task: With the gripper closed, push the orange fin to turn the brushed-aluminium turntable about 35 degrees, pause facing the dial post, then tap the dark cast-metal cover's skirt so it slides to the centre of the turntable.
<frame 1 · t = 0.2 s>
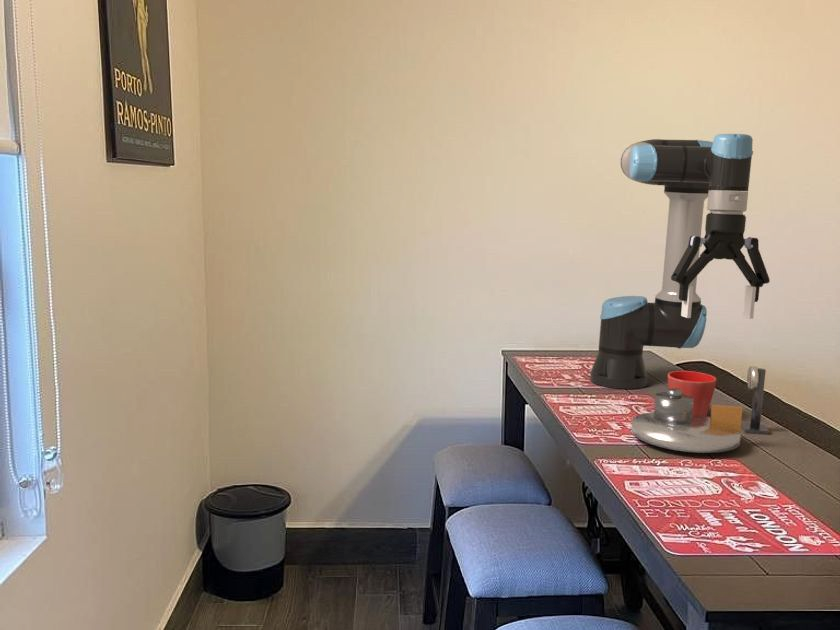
hand: (717, 317, 171), 27 cm above the table, fingers open, 13 cm apart
flower pot: (688, 417, 196), on the table
dial post: (754, 430, 186), on the table
turntable: (686, 419, 176), point 5 cm above the table, hinge at 0.0°, touching cover
cover: (672, 419, 182), point 3 cm above the table, touching turntable
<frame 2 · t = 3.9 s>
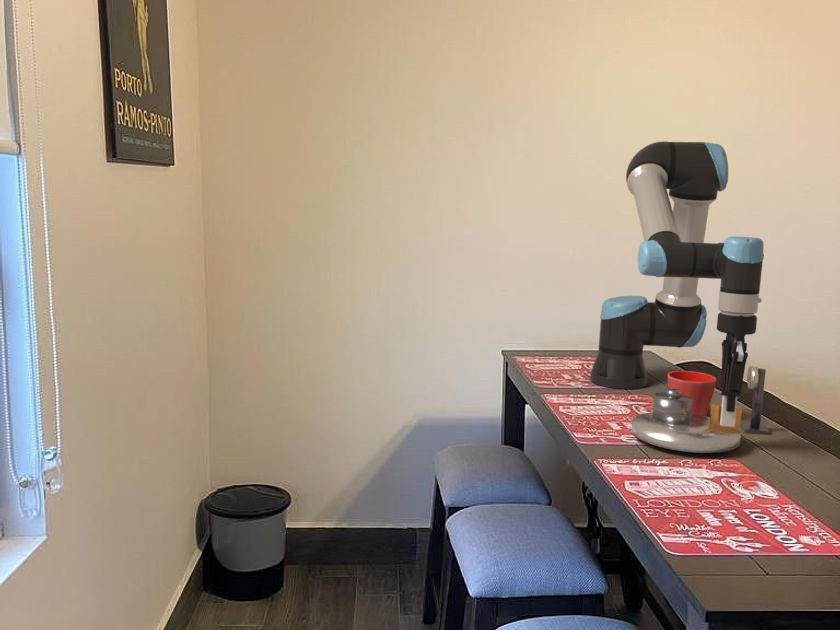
hand: (727, 425, 173), 5 cm above the table, fingers closed
turntable: (686, 419, 176), point 5 cm above the table, hinge at 2.6°, touching cover, gripper
everything else where it was.
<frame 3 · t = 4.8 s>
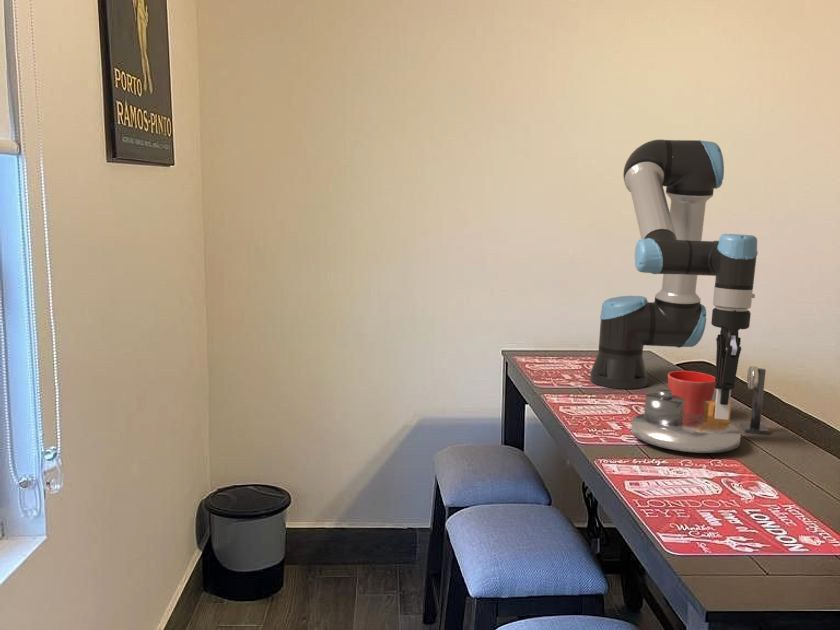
hand: (721, 418, 177), 5 cm above the table, fingers closed
turntable: (686, 419, 176), point 5 cm above the table, hinge at 29.3°, touching cover, gripper
cover: (663, 420, 181), point 3 cm above the table, touching turntable
everything else where it was.
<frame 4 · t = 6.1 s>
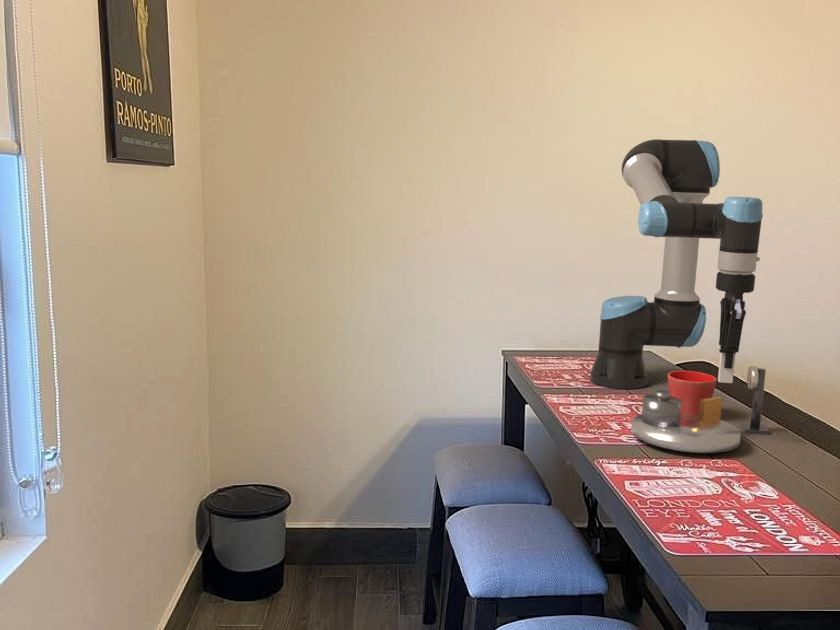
hand: (725, 381, 178), 13 cm above the table, fingers closed
turntable: (686, 419, 176), point 5 cm above the table, hinge at 43.2°, touching cover
cover: (660, 421, 180), point 3 cm above the table, touching turntable
everything else where it was.
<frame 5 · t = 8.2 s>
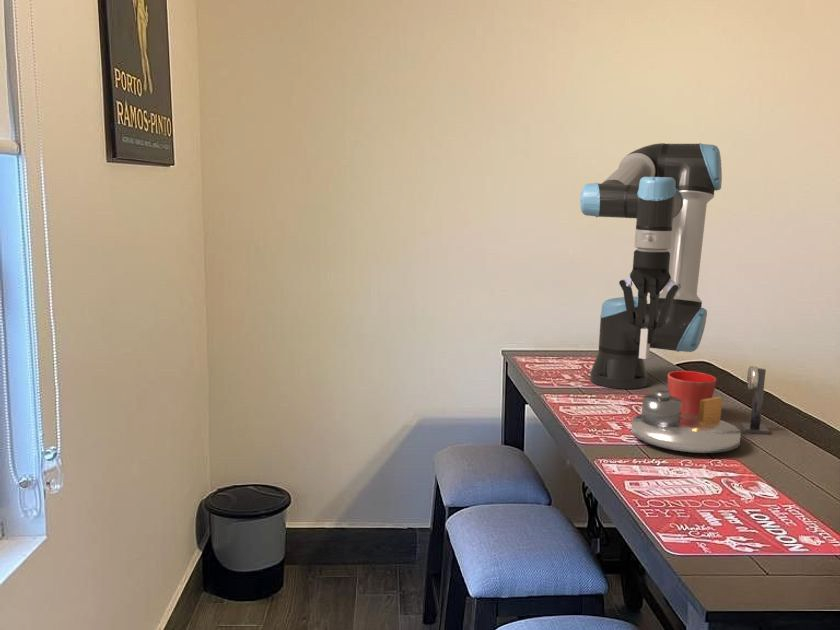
hand: (643, 357, 182), 16 cm above the table, fingers closed
nothing on the table moved.
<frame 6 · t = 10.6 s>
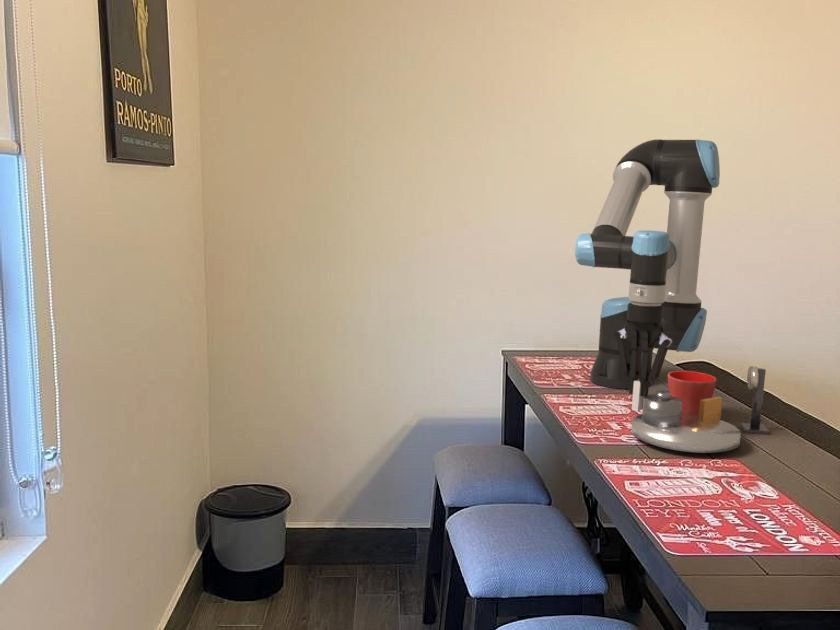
hand: (637, 409, 183), 5 cm above the table, fingers closed
cover: (661, 421, 179), point 3 cm above the table, touching gripper, turntable
everything else where it was.
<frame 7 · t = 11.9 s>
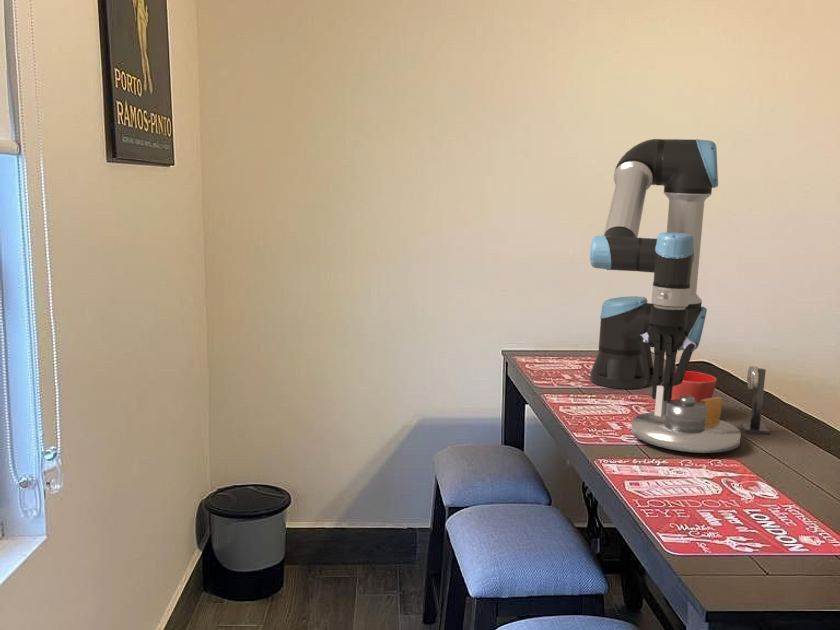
hand: (660, 414, 180), 5 cm above the table, fingers closed
cover: (684, 427, 176), point 3 cm above the table, touching gripper, turntable
everything else where it was.
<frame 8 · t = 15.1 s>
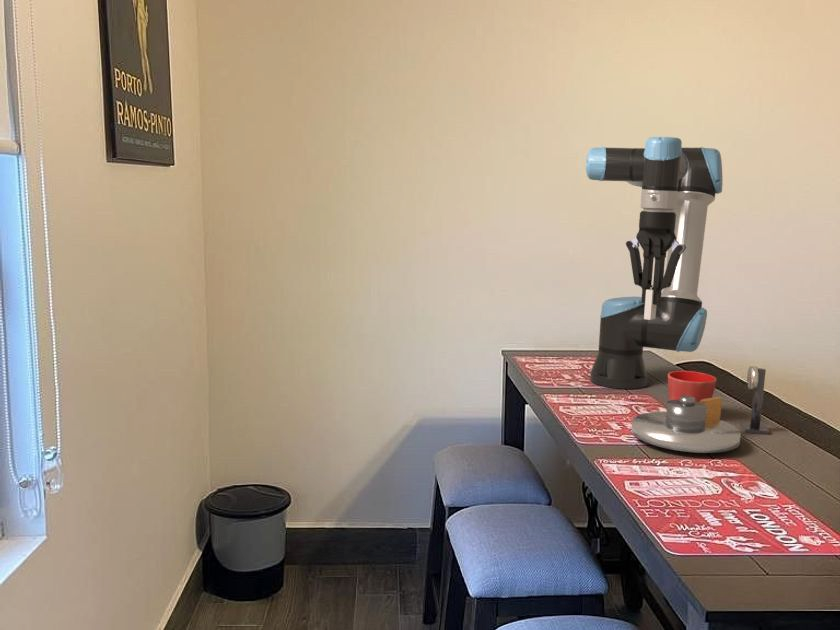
hand: (649, 318, 183), 24 cm above the table, fingers closed
cover: (685, 427, 176), point 3 cm above the table, touching turntable
everything else where it was.
at the end: turntable at +44° (first picture: +0°); cover 0.7 cm from the turntable (horizontally); cover tilted 0° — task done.
